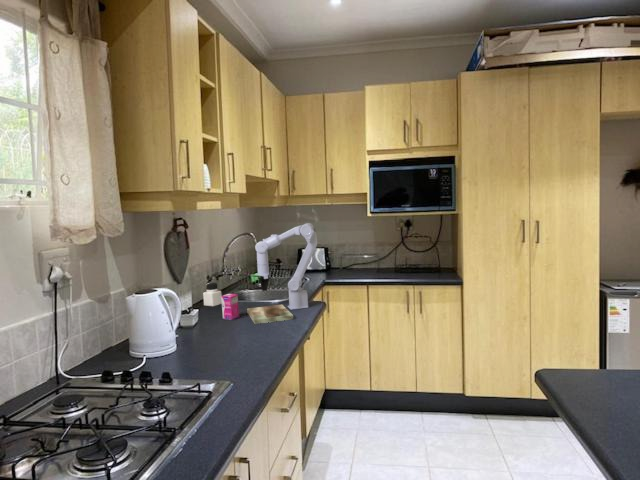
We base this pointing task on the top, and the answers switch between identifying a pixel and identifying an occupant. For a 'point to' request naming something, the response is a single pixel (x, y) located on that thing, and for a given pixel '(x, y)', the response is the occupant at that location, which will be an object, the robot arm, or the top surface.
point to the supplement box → (230, 306)
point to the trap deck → (259, 317)
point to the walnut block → (271, 311)
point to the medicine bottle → (212, 295)
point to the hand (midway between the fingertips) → (264, 290)
